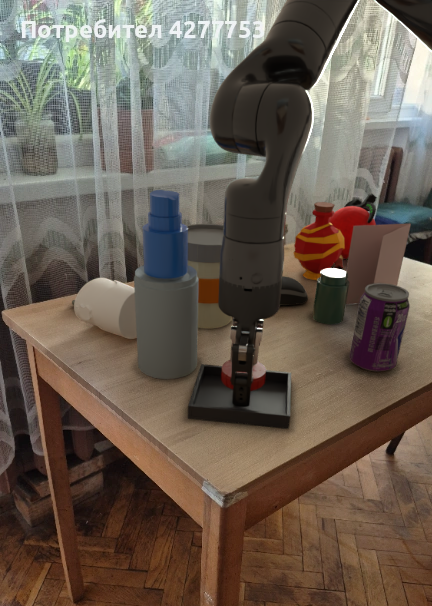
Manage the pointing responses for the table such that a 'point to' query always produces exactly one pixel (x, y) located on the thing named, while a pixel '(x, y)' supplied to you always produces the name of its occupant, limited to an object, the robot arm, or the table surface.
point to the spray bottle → (166, 293)
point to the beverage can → (379, 327)
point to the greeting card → (375, 257)
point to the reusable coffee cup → (207, 272)
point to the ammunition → (339, 263)
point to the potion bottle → (319, 242)
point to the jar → (331, 296)
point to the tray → (261, 411)
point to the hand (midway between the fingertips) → (243, 391)
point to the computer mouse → (292, 292)
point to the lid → (258, 372)
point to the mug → (108, 306)
